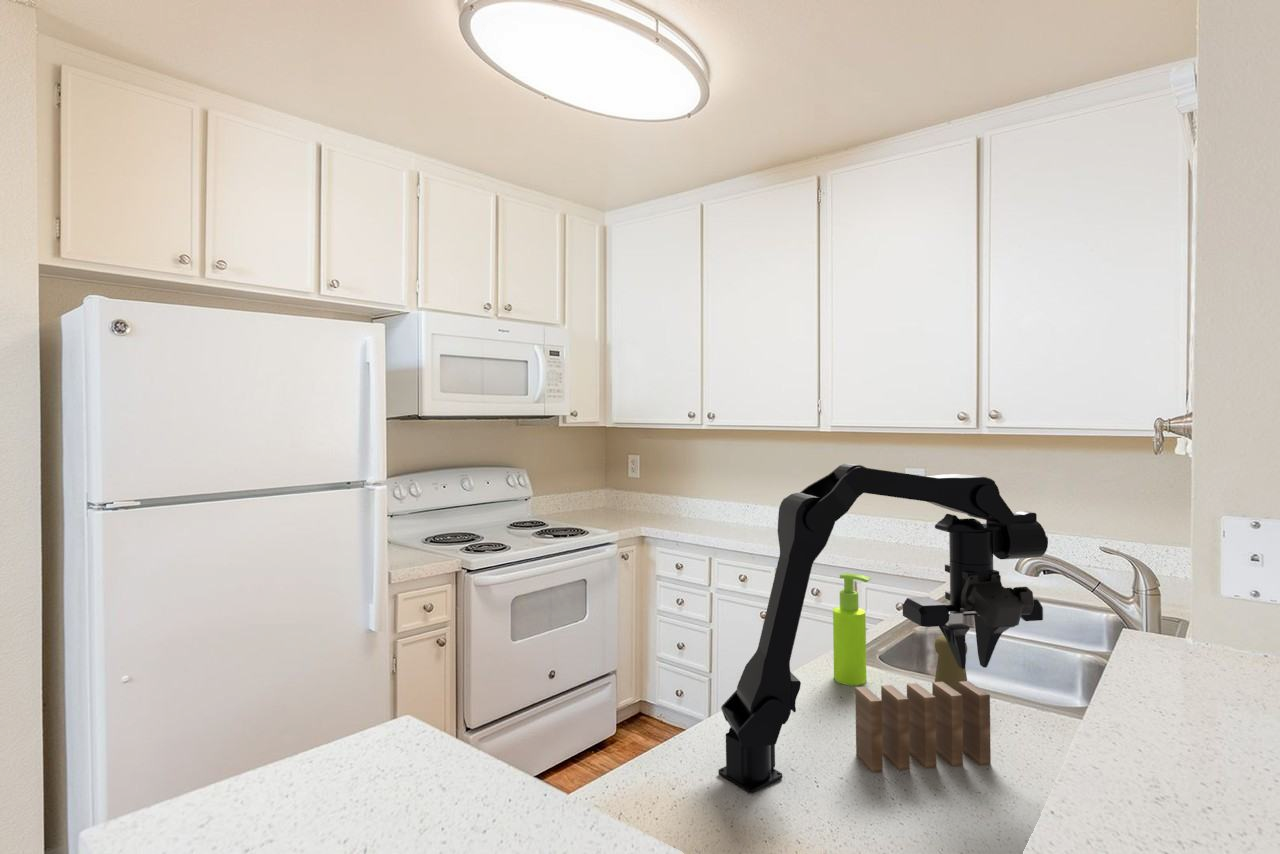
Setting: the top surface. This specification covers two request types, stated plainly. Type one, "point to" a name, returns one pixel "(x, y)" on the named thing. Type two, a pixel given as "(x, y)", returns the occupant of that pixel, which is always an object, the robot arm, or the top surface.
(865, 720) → the tile
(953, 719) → the tile
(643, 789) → the top surface
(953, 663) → the cork
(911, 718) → the tile
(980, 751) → the tile
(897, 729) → the tile
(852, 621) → the soap dispenser
